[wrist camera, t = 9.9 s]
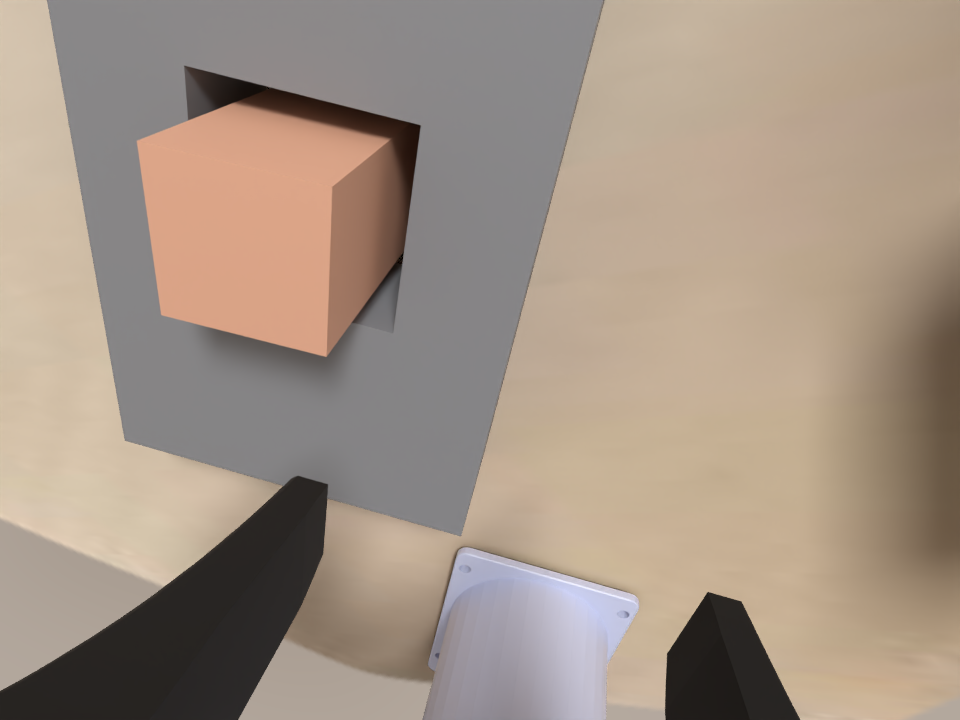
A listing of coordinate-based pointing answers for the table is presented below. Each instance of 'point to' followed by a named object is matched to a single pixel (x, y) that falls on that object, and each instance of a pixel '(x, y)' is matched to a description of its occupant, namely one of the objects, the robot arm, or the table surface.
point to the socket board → (408, 286)
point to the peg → (277, 215)
